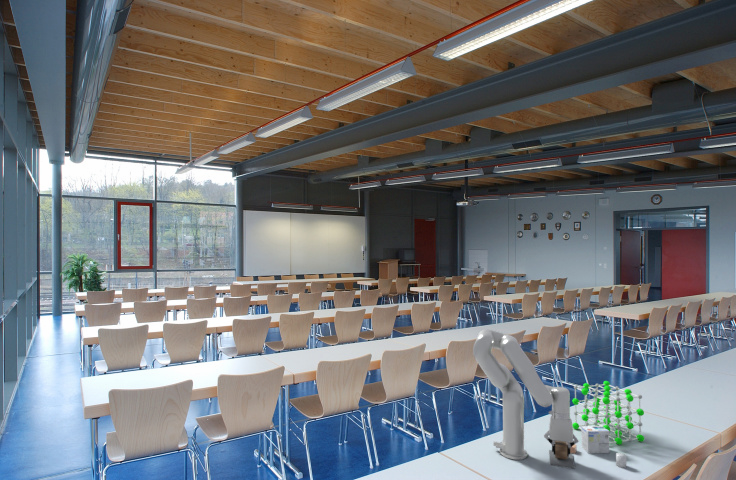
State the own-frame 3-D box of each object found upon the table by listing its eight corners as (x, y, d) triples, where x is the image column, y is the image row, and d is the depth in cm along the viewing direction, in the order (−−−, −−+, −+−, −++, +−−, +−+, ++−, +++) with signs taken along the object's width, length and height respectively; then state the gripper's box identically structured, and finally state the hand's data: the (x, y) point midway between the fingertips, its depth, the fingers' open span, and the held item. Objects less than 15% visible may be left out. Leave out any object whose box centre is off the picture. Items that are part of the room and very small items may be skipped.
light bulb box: (602, 447, 219) (602, 425, 219) (610, 453, 212) (609, 430, 212) (580, 447, 218) (580, 425, 219) (588, 453, 212) (587, 431, 212)
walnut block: (555, 457, 204) (555, 444, 204) (554, 452, 209) (554, 440, 209) (567, 459, 202) (567, 446, 202) (566, 454, 207) (566, 441, 207)
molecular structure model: (606, 448, 218) (606, 398, 218) (570, 428, 242) (570, 383, 242) (645, 442, 224) (645, 394, 225) (607, 423, 248) (606, 379, 249)
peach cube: (565, 451, 214) (565, 445, 214) (567, 448, 217) (567, 442, 217) (574, 454, 212) (574, 447, 212) (576, 451, 215) (576, 444, 215)
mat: (550, 464, 201) (550, 463, 201) (549, 451, 214) (549, 449, 214) (574, 468, 197) (574, 467, 197) (571, 455, 210) (571, 453, 210)
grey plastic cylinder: (616, 467, 199) (616, 456, 199) (615, 463, 203) (615, 452, 203) (627, 468, 197) (627, 457, 197) (625, 464, 201) (625, 453, 201)
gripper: (541, 415, 205) (541, 455, 205) (581, 420, 199) (582, 461, 199) (541, 409, 212) (541, 448, 212) (580, 414, 206) (580, 454, 206)
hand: (561, 454), depth 206 cm, fingers closed on walnut block, 5 cm apart
